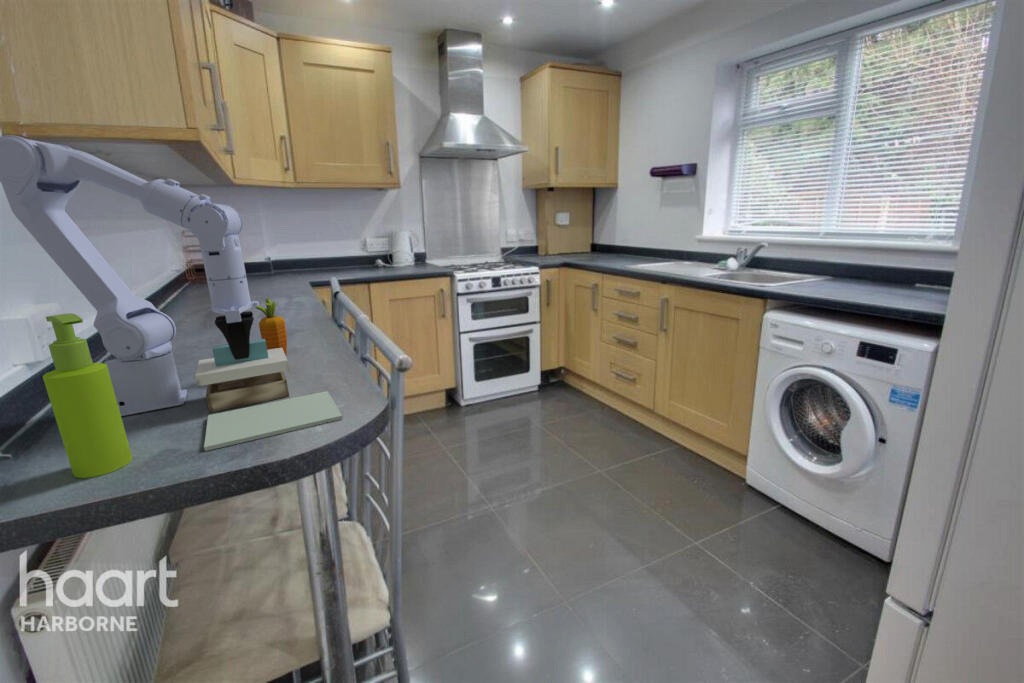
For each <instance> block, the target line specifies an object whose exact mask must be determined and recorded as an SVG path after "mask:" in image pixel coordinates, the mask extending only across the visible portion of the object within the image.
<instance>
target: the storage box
mask: <svg viewBox="0 0 1024 683" xmlns="http://www.w3.org/2000/svg"><path fill="white" fill-rule="evenodd" d="M206 386H207V387H206V392H205V393H206V394H205V397H206V402H207V406H208V411H209V413H214V412H219V411H224V410H229V409H233V408H239V407H244V406H249V405H256V404H260V403H264V402H269V401H274V400H279V399H280V400H281V399H284V398H285V399H286V398H288V397H290V393H289V388H288V381H287V378H286V376H285V371H282V372H277V373H271V374H265V375H260V376H254V377H248V378H243V379H237V380H231V381H225V382H220V383H214V384H208V385H206Z"/></svg>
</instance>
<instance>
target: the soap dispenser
mask: <svg viewBox="0 0 1024 683" xmlns="http://www.w3.org/2000/svg"><path fill="white" fill-rule="evenodd" d="M45 319H46V322H50V323H51V324H52V328H53V331H54V335H55V339H56V340H54V341H53V342H52V343H49V344H48V349H49V352H50V355H51V358H52V362H53V365H54V369H53V370H51V371H48V372H46V373H44V374H43V375H42V379H43V382H44V386H45V389H46V393H47V395H48V398H49V402H50V404H51V407H52V408H51V409H52V411H53V415H54V418H55V421H56V424H57V427H58V431H59V433H60V434H59V435H60V437H61V440H62V443H63V446H64V449H65V452H66V456H67V459H68V462H69V465H70V468H71V472H72V475H73V477H75V478H79V479H90V478H94V477H95V478H96V477H100V476H103V475H107V474H110V473H113V472H114V471H115V472H116V471H117V470H120V469H123V468H124V467H125V466H127V465H129V464H130V463H131V462H132V460H133V455H132V452H131V447H130V445H129V440H128V438H127V433H126V429H125V426H124V421H123V419H122V416H121V414H120V411H119V407H118V403H117V400H116V396H115V392H114V389H113V385H112V382H111V378H110V374H109V371H108V367H107V364H105V362H104V363H103V362H93V359H92V356H91V352H90V348H89V345H88V341H87V340H86V339H85V338H81V337H77V336H76V332H75V330H74V326H73V325H75V324H76V325H77V324H81V323H83V321H84V319H83V318H82V317H80V315H77V314H76V313H63V314H62V313H61V314H54V315H48V316H45Z"/></svg>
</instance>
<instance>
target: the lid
mask: <svg viewBox="0 0 1024 683" xmlns="http://www.w3.org/2000/svg"><path fill="white" fill-rule="evenodd" d="M211 350H212V353H213V354H212V355H213V357H212V358H204V359H199V360H198V363H197V368H196V371H195V376H194V377H195V380H196V385H197V387H201V386H203V387H204V386H207V385H208V384H214V383H220V382H225V381H231V380H237V379H243V378H248V377H254V376H260V375H265V374H271V373H277V372H282V371H283V372H287V371H288V372H289V371H290V366H289V360H288V358H287V354H286V355H285V353H284V351H283V348H276V349H269V350H267V346H266V341H265V339H262V338H259V339H253V340H250V352H249V358H244V359H237V360H235V358H234V356H233V354H232V352H231V350H230V347H229V345H228V343H225V344H219V345H213V346H212V348H211Z"/></svg>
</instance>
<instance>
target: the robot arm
mask: <svg viewBox="0 0 1024 683" xmlns="http://www.w3.org/2000/svg"><path fill="white" fill-rule="evenodd" d="M165 179H166V180H165ZM165 179H162V178H157V179H154V180H151V181H147V180H145V179H143V178H141V177H138V176H137V175H135V174H132V173H130V172H129V171H126V170H124V169H122V168H120V167H118V166H116V165H114V164H111V163H110V162H108V161H105V160H103V159H102V158H100V157H97V156H95V155H93V154H91V153H89V152H86V151H84V150H83V151H82V150H78V149H74V148H72V147H70V146H68V145H65V144H62V143H61V144H59V143H49V142H44V141H39V140H34V139H28V138H24V137H22V136H17V135H15V134H14V135H13V134H7V135H2V136H0V184H1V186H2V187H3V191H4V193H5V196H6V199H7V202H8V205H9V207H10V210H11V212H12V214H14V217H16V219H17V220H18V221H19V222H20V224H22V226H23V227H24V228H25V229H26V230H27V232H28V233H29V234H30V235H31V236H32V237H33V239H35V240H36V242H37V243H38V245H40V246H41V248H42V249H43V250H44V251H45V252H46V254H48V256H50V259H52V260H53V262H55V264H56V265H57V266H58V268H60V269H61V271H62V272H63V273H64V274H65V275H66V277H67V278H68V279H69V280H70V281H71V283H73V285H74V286H75V287H76V288H77V289H78V290H79V292H80V293H81V294H82V295H83V296H84V298H85V299H86V300H87V301H88V302H89V303H90V304H91V306H92V307H93V308H94V309H95V311H96V315H95V318H94V321H93V327H94V328H95V329H96V331H97V332H98V333H99V335H100V337H101V341H102V344H103V346H104V348H105V349H106V351H107V352H108V353H109V354H110V355H112V356H113V357H116V358H115V359H110V360H106V361H105V362H104V363H105V364H107V367H108V371H109V374H110V378H111V382H112V385H113V389H114V392H115V396H116V400H117V403H118V407H119V411H120V414H121V417H123V416H130V415H135V414H140V413H145V412H151V411H156V410H162V409H166V408H172V407H177V406H181V405H184V403H185V401H186V396H187V394H188V390H187V389H182V388H181V384H180V383H181V382H180V379H179V375H178V370H177V366H176V362H175V358H174V354H173V351H172V350H173V344H172V342H173V341H174V339H175V337H176V334H177V328H176V324H175V322H174V320H173V319H172V318H171V317H170V316H169V315H168V314H166V313H164V312H162V311H160V310H159V309H157V308H156V307H155V305H153V303H152V302H151V301H148V300H146V299H144V298H142V297H139V296H137V295H136V294H134V293H133V292H132V290H131V289H129V287H128V286H127V284H125V282H124V280H122V278H120V276H119V275H118V273H116V271H115V270H114V269H113V268H112V267H111V265H110V263H108V262H107V261H106V259H105V258H104V257H103V255H102V254H101V253H100V252H99V251H98V250H97V249H96V247H95V246H94V245H93V243H92V242H91V241H90V240H89V239H88V238H87V235H85V233H83V231H82V230H81V229H80V227H78V225H77V224H76V223H75V222H74V221H73V219H72V218H71V217H70V216H69V214H67V212H66V207H67V204H68V203H69V201H70V200H71V198H72V197H73V195H74V194H75V192H76V191H77V189H78V188H79V186H80V185H81V184H82V182H90V183H93V184H96V185H99V186H100V187H101V186H102V187H104V188H105V189H106V188H107V189H108V190H111V191H114V192H117V193H119V194H121V195H125V196H127V197H129V198H131V199H135V200H136V201H137V200H138V201H140V203H141V206H142V208H143V209H144V211H146V213H148V214H150V215H152V216H156V217H158V218H160V219H163V220H165V221H167V222H169V223H172V224H175V225H177V226H178V227H179V226H180V227H182V228H184V229H187V230H189V231H190V233H191V234H192V235H193V236H194V237H196V239H197V241H198V243H199V248H200V252H201V257H202V262H203V266H204V273H205V276H206V282H207V287H208V292H209V296H210V297H209V298H210V301H211V307H210V309H211V312H213V313H216V314H220V315H218V316H216V317H215V320H214V324H215V326H216V328H218V329H219V331H220V332H221V334H222V335H223V337H224V338H225V340H226V343H227V344H228V345H229V347H230V350H231V352H232V354H233V356H234V358H235V360H237V359H244V358H249V352H250V341H251V340H250V337H251V330H252V326H253V323H254V320H255V318H254V313H253V311H252V310H251V311H250V309H251V308H253V307H255V308H256V306H260V301H258V300H253V301H251V300H252V299H251V295H250V290H249V284H248V278H247V273H246V272H247V271H246V266H245V262H244V257H243V251H242V247H241V246H242V245H241V242H240V236H239V234H240V233H241V232H242V229H243V220H242V216H241V214H240V213H239V212H238V210H236V209H235V208H233V207H232V206H230V204H228V203H224V202H217V203H212V201H211V197H210V196H209V195H207V194H200V195H199V194H197V193H194V192H192V191H191V190H188V189H186V188H183V187H181V186H180V184H181V183H180V182H179V181H178V180H175V179H172V178H165ZM248 310H249V311H248Z"/></svg>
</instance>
